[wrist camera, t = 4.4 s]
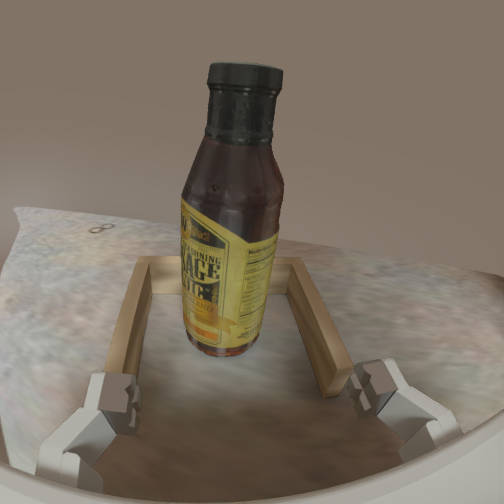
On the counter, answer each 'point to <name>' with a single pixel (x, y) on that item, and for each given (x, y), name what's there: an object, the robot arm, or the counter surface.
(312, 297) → the wooden bracket
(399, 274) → the counter surface
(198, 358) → the counter surface
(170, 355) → the counter surface
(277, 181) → the sauce bottle
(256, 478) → the counter surface
